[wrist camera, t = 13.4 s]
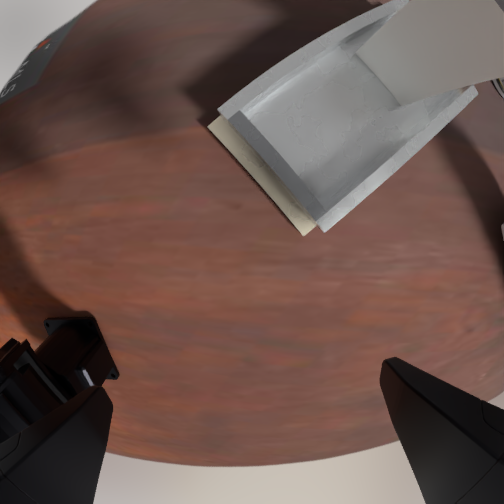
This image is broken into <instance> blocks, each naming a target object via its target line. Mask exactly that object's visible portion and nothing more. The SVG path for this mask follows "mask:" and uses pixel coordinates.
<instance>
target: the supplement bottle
mask: <svg viewBox="0 0 504 504" xmlns="http://www.w3.org/2000/svg"><path fill="white" fill-rule="evenodd" d="M493 82H494V84H495V86H496V88H497V90H498V92H499V93H500V94H501V96H502V97H503V98H504V77H502V78H498V79H493Z"/></svg>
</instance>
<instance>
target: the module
mask: <svg viewBox="0 0 504 504" xmlns="http://www.w3.org/2000/svg"><path fill="white" fill-rule="evenodd" d="M355 53H356V54H357V55H358V56H359V57H360V59H361V60H362V61H363V62H364V63H365V64H366V65H367V66H368V67H369V68H370V69H371V70H372V71H373V73H374V74H375V75H376V76H377V77H378V78H379V79H380V80H381V82H382V83H383V84H384V85H385V86H386V88H387V89H388V90H389V91H390V92H391V94H392V95H393V96H394V97H395V99H396V100H397V101H398V102H399V104H400V105H401V106H404V105H407V104H410V103H413V102H416V101H419V100H422V99H425V98H428V97H431V96H434V95H438V94H441V93H444V92H448V91H451V90H455V89H458V88H462V87H465V86H469V85H473V84H477V83H481V82H485V81H489V80H493V79H498V78H502V77H504V0H411V1H410V2H408V3H407V4H406V5H405V6H404V7H403V8H402V9H401V10H399V11H398V12H397V13H396V14H395V15H394V16H393V17H392V18H391V19H390V20H389V21H388V22H386V23H385V24H384V25H383V26H382V27H381V28H380V29H379V30H378V31H377V32H376V33H375V34H374V35H373V36H372V37H371V38H370V39H369V40H368V41H367V42H366V43H365V44H364V45H362V46H361V47H360V48H359V49H358V50H357V51H356V52H355Z"/></svg>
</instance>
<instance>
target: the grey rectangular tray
mask: <svg viewBox="0 0 504 504" xmlns="http://www.w3.org/2000/svg"><path fill="white" fill-rule="evenodd" d="M408 2H410V1H409V0H393V1H390V2H388V3H386V4H383V5H381V6H379V7H376V8H374V9H372V10H370V11H368V12H366V13H364V14H361V15H359V16H357V17H355V18H353V19H351V20H349V21H348V22H346V23H344V24H342V25H340V26H338V27H336V28H334V29H333V30H331V31H329V32H327V33H325V34H324V35H322V36H320V37H319V38H317V39H315V40H314V41H312V42H310V43H309V44H307V45H305V46H304V47H302V48H300V49H299V50H297V51H296V52H294V53H293V54H291V55H290V56H288V57H287V58H285V59H284V60H282V61H281V62H279V63H278V64H276V65H275V66H273V67H272V68H270V69H269V70H268V71H266V72H265V73H263V74H262V75H261V76H259V77H258V78H256V79H255V80H254V81H252V82H251V83H250V84H248V85H247V86H246V87H244V88H243V89H242V90H240V91H239V92H238V93H237V94H235V95H234V96H233V97H232V98H230V99H229V100H228V101H227V102H225V103H224V104H223V105H222V106H220V107H219V108H218V109H217V110H218V112H219V114H220V116H219V117H218V118H217V119H216V120H214V121H213V122H212V123H211V124H210V125H209V126H207V127H208V128H209V129H210V130H211V132H212V133H213V134H214V135H215V136H216V137H217V138H218V139H219V140H220V141H221V142H222V143H223V144H224V145H225V147H226V148H227V149H228V150H229V151H230V152H231V153H232V154H233V155H234V156H235V158H236V159H237V160H238V161H239V162H240V163H241V164H242V165H243V166H244V168H245V169H246V170H247V171H248V172H249V173H250V174H251V175H252V176H253V178H254V179H255V180H256V181H257V182H258V183H259V184H260V186H261V187H262V188H263V189H264V190H265V191H266V192H267V194H268V195H269V196H270V197H271V198H272V199H273V201H274V202H275V203H276V204H277V205H278V206H279V208H280V209H281V210H282V211H283V212H284V214H285V215H286V216H287V217H288V218H289V219H290V221H291V222H292V223H293V224H294V225H295V227H296V228H297V229H298V230H299V231H300V233H301V234H302V235H303V236H305V235H306V234H307V233H308V232H309V231H311V230H312V229H313V228H314V227H315V226H317V227H318V228H319V229H321V230H322V231H323V232H324V233H325V232H326V231H327V230H329V229H330V228H331V227H332V226H333V225H335V224H336V223H337V222H338V221H339V220H340V219H342V218H343V217H344V216H345V215H346V214H347V213H349V212H350V211H351V210H352V209H353V208H354V207H356V206H357V205H358V204H359V203H360V202H361V201H363V200H364V199H365V198H366V197H367V196H368V195H369V194H371V193H372V192H373V191H374V190H375V189H376V188H377V187H379V186H380V185H381V184H382V183H383V182H384V181H385V180H387V179H388V178H389V177H390V176H391V175H392V174H393V173H394V172H396V171H397V170H398V169H399V168H400V167H401V166H402V165H403V164H404V163H406V162H407V161H408V160H409V159H410V158H411V157H412V156H413V155H414V154H416V153H417V152H418V151H419V150H420V149H421V148H422V147H423V146H424V145H425V144H426V143H428V142H429V141H430V140H431V139H432V138H433V137H434V136H435V135H436V134H437V133H438V132H439V131H440V130H441V129H443V128H444V127H445V126H446V125H447V124H448V123H449V122H450V121H451V120H452V119H453V118H454V117H455V116H456V115H457V114H458V113H459V112H460V111H461V110H463V109H464V108H465V107H466V106H467V105H468V104H469V103H470V102H471V101H472V100H473V99H474V98H475V97H476V96H477V95H478V92H477V90H476V88H475V87H474V85H469V86H465V87H462V88H458V89H455V90H451V91H448V92H444V93H441V94H438V95H434V96H431V97H428V98H425V99H422V100H419V101H416V102H413V103H410V104H407V105H404V106H401V105H400V104H399V102H398V101H397V100H396V99H395V97H394V96H393V95H392V94H391V92H390V91H389V90H388V89H387V88H386V86H385V85H384V84H383V83H382V82H381V80H380V79H379V78H378V77H377V76H376V75H375V74H374V73H373V71H372V70H371V69H370V68H369V67H368V66H367V65H366V64H365V63H364V62H363V61H362V60H361V59H360V57H359V56H358V55H357V54H356V53H355V52H356V51H357V50H358V49H359V48H360V47H361V46H362V45H364V44H365V43H366V42H367V41H368V40H369V39H370V38H371V37H372V36H373V35H374V34H375V33H376V32H377V31H378V30H379V29H380V28H381V27H382V26H383V25H384V24H385V23H386V22H388V21H389V20H390V19H391V18H392V17H393V16H394V15H395V14H396V13H397V12H398V11H399V10H401V9H402V8H403V7H404V6H405V5H406V4H407V3H408Z"/></svg>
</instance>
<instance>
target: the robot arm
mask: <svg viewBox="0 0 504 504" xmlns="http://www.w3.org/2000/svg"><path fill="white" fill-rule="evenodd" d="M90 322H91V323H92V324H91V323H90ZM44 326H45V328H46V330H47V333H48V335H49V337H48V338H47V339H46V340H45V341H44V342H43V343H42V344H41V345H40V346H39V347H38V348H37V349H36V350H35V351H34V350H33V349H32V348H31V346H30V343H29V342H28V340H27V339H26V340H24V341H23V342H21V343H20V342H19V341H17V340H15V339H13V338H11V339H10V340H9V341H8V342H7V343H6V344H5V345H3V346H2V347H1V348H0V504H93V501H94V497H95V492H96V487H97V483H98V478H99V474H100V470H101V466H102V462H103V458H104V454H105V451H106V446H107V442H108V436H109V430H110V424H111V418H112V413H113V404H112V401H111V400H110V398H109V396H108V395H107V393H106V391H105V389H104V388H103V387H102V384H103V383H104V381H105V379H113V380H116V379H118V377H119V372H118V370H117V368H116V366H115V364H114V361H113V359H112V357H111V355H110V353H109V350H108V348H107V346H106V343H105V341H104V339H103V336H102V334H101V331H100V329H99V326H98V324H97V321H96V320H95V319H94V318H93V317H70V318H47V319H45V320H44ZM380 386H381V389H382V392H383V395H384V398H385V402H386V405H387V408H388V411H389V414H390V418H391V421H392V424H393V426H394V428H395V431H396V433H397V435H398V437H399V440H400V442H401V444H402V446H403V449H404V451H405V453H406V456H407V458H408V460H409V463H410V465H411V468H412V470H413V472H414V475H415V477H416V480H417V482H418V485H419V487H420V490H421V492H422V495H423V497H424V500H425V503H426V504H504V410H503V409H501V408H499V407H497V406H494V405H492V404H490V403H488V402H486V401H484V400H480V399H479V398H477V397H475V396H473V395H471V394H469V393H467V392H465V391H463V390H461V389H459V388H457V387H455V386H453V385H451V384H449V383H446V382H444V381H442V380H440V379H438V378H436V377H435V376H433V375H431V374H429V373H427V372H425V371H423V370H421V369H419V368H417V367H415V366H413V365H411V364H409V363H407V362H405V361H403V360H401V359H399V358H397V357H392V358H389V359H385V360H384V361H383V363H382V368H381V374H380Z"/></svg>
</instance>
